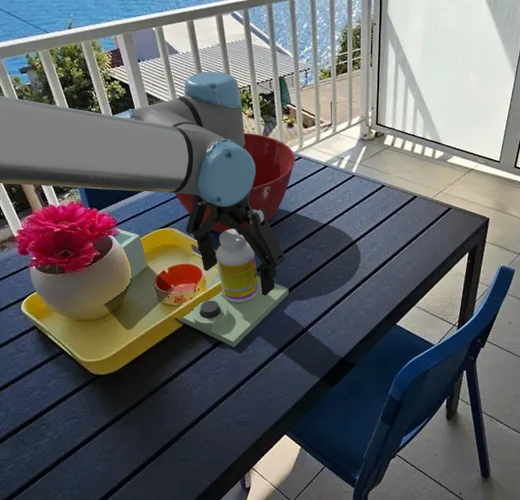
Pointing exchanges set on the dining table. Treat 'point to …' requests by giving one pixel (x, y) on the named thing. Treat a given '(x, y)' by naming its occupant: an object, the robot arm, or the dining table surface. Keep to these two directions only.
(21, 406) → the dining table surface
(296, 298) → the dining table surface
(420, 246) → the dining table surface
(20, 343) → the dining table surface
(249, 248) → the supplement bottle
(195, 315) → the scale
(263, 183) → the mixing bowl
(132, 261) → the right angle wall
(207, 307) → the button
